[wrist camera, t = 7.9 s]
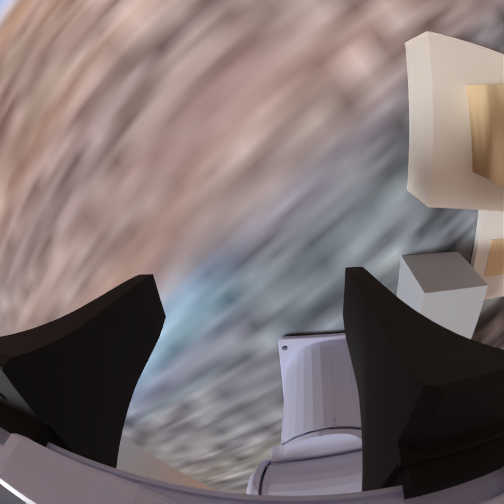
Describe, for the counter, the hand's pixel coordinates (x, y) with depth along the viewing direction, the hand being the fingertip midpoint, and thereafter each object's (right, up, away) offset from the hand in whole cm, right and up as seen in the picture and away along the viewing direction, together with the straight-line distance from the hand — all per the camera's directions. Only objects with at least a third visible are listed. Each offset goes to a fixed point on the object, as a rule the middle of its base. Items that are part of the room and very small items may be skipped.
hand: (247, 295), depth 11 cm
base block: (+15, +10, +4) cm, 19 cm away
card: (+20, +1, +8) cm, 22 cm away
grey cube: (+14, -1, +10) cm, 17 cm away
